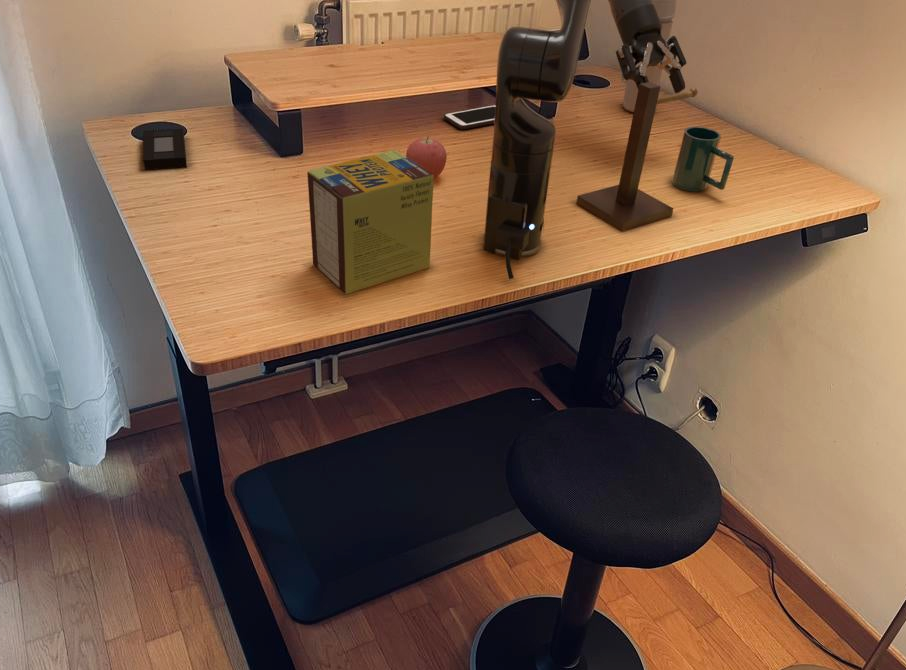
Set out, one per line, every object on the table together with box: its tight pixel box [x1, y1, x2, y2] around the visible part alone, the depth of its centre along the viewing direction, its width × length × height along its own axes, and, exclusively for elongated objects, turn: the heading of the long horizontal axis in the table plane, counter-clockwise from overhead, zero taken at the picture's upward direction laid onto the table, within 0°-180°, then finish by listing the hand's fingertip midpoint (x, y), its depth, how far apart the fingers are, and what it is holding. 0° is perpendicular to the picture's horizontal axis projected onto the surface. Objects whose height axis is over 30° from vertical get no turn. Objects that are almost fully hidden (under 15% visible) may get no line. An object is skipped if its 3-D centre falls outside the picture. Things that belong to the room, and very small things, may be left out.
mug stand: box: [575, 82, 699, 232], centre depth 135 cm, size 18×12×22 cm
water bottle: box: [621, 0, 677, 114], centre depth 174 cm, size 9×8×25 cm
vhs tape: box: [142, 128, 188, 171], centre depth 151 cm, size 8×14×2 cm, turn 16°
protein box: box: [307, 149, 435, 295], centre depth 117 cm, size 10×15×16 cm
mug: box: [671, 126, 735, 193], centre depth 146 cm, size 11×6×10 cm, turn 33°
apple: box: [405, 135, 448, 179], centre depth 145 cm, size 7×7×8 cm
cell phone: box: [443, 104, 496, 130], centre depth 172 cm, size 8×15×1 cm, turn 121°
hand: (664, 94), depth 148 cm, fingers open, 8 cm apart
